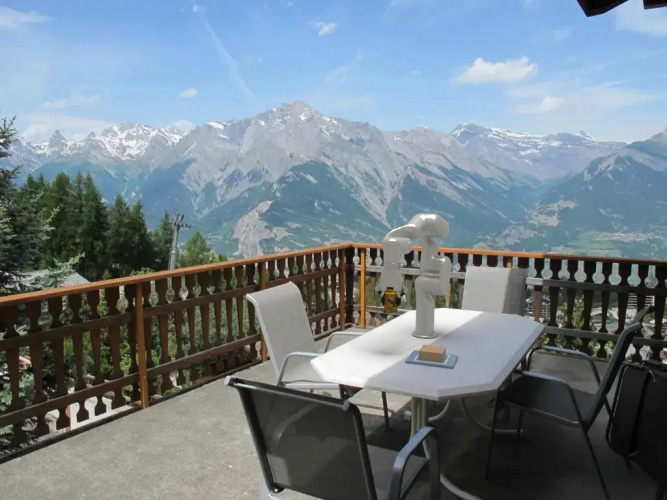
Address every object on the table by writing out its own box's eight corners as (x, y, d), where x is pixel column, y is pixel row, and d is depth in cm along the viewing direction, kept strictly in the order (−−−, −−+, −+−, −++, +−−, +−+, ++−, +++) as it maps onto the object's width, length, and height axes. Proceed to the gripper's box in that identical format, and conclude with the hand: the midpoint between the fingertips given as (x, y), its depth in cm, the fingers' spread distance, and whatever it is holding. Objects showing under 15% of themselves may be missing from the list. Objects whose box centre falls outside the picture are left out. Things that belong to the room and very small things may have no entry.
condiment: (394, 314, 224) (394, 288, 223) (377, 312, 228) (377, 286, 227) (401, 311, 230) (401, 285, 229) (384, 309, 235) (384, 284, 234)
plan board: (413, 352, 233) (413, 341, 233) (457, 357, 227) (458, 346, 226) (405, 363, 217) (405, 351, 216) (452, 368, 210) (453, 357, 209)
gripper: (412, 266, 227) (411, 305, 229) (375, 264, 234) (375, 302, 235) (409, 268, 220) (408, 308, 222) (371, 266, 227) (370, 305, 228)
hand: (391, 305), depth 229 cm, fingers closed on condiment, 6 cm apart
